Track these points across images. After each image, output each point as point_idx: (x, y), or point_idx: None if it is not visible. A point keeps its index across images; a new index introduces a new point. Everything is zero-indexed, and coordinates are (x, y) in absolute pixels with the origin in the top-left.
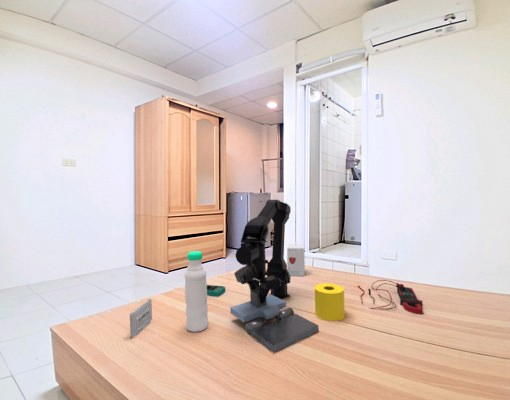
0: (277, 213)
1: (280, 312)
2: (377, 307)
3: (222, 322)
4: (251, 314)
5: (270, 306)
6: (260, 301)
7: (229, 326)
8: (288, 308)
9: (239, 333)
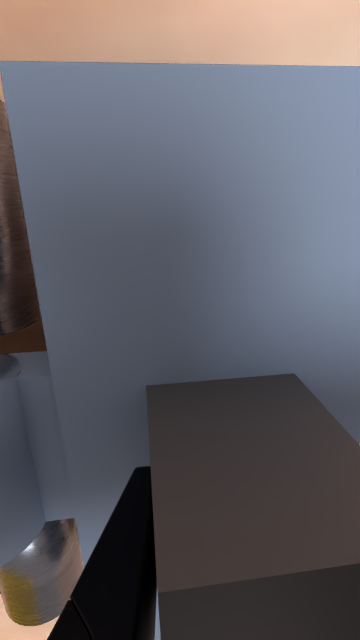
0: None
1: None
2: None
3: (346, 8)
4: (31, 229)
5: (86, 516)
6: (148, 484)
7: (222, 25)
8: (37, 608)
9: (23, 33)
